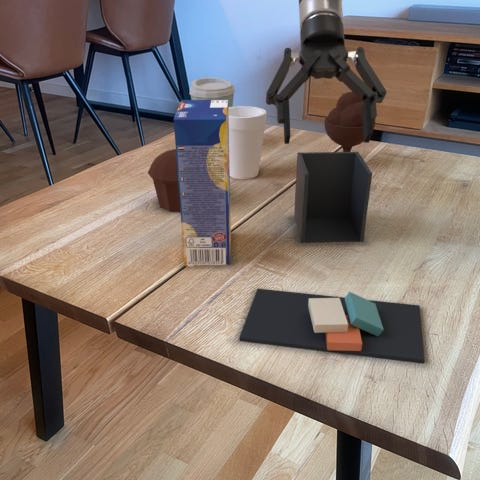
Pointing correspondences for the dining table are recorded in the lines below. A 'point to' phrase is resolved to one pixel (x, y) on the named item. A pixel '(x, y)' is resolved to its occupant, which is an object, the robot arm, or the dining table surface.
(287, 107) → the robot arm
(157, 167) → the muffin
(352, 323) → the block
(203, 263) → the beverage box
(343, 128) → the ice cream bowl
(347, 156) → the basket
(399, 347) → the mat
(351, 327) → the block
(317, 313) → the block
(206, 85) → the disposable coffee cup
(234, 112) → the foam cup
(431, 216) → the dining table surface
